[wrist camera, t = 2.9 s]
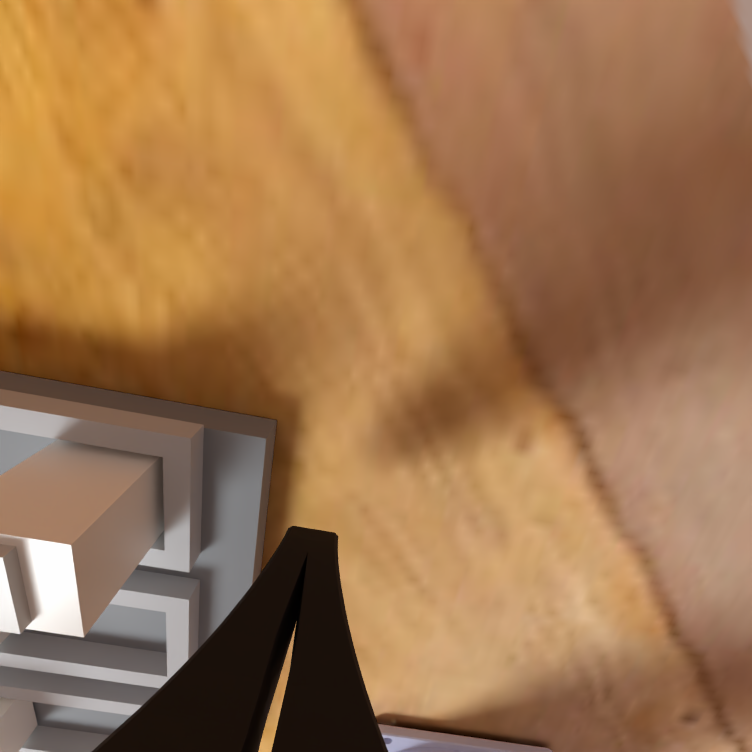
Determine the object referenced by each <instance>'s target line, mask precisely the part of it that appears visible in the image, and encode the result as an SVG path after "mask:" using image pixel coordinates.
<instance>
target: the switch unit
mask: <svg viewBox="0 0 752 752" xmlns="http://www.w3.org/2000/svg"><path fill="white" fill-rule="evenodd" d="M276 424H277V420H273V419H267V418H262V417H256V416H251V415H245V414H239V413H234V412H228V411H223V410H217V409H211V408H206V407H200V406H195V405H189V404H183V403H178V402H172V401H167V400H161V399H155V398H150V397H144V396H139V395H133V394H128V393H122V392H116V391H111V390H105V389H100V388H94V387H88V386H83V385H77V384H72V383H66V382H60V381H55V380H49V379H44V378H38V377H32V376H27V375H21V374H16V373H10V372H4V371H0V475H2V474H4V473H5V472H7V471H8V470H10V469H12V468H13V467H15V466H16V465H18V464H19V463H21V462H23V461H24V460H26V459H27V458H29V457H31V456H32V455H34V454H35V453H37V452H39V451H40V450H42V449H43V448H45V447H47V446H48V445H50V444H51V443H53V442H54V441H56V440H58V439H59V440H65V441H71V442H76V443H82V444H88V445H94V446H100V447H106V448H111V449H117V450H123V451H129V452H135V453H141V454H146V455H152V456H158V457H163V494H164V531H163V532H162V533H161V535H160V536H159V537H158V539H157V540H156V541H155V543H154V544H153V546H152V547H151V548H150V550H149V551H148V552H147V554H146V555H145V556H144V558H143V559H142V560H141V562H140V563H139V564H138V566H137V567H136V568H135V570H134V571H133V572H132V574H131V575H130V576H129V578H128V579H127V580H126V582H125V583H124V584H123V586H122V587H121V588H120V590H119V591H118V592H117V594H116V595H115V596H114V598H113V599H112V600H111V602H110V603H109V605H108V606H107V607H106V609H105V610H104V611H103V613H102V614H101V615H100V617H99V618H98V619H97V621H96V622H95V623H94V625H93V626H92V627H91V629H90V630H89V631H88V633H87V634H86V635H85V637H77V636H71V635H64V634H57V633H50V632H44V631H37V630H30V629H25V630H24V631H23V632H22V633H21V634H15V633H10V634H9V636H8V637H7V638H6V639H5V640H4V641H3V642H2V643H1V644H0V697H2V698H9V699H16V700H23V701H30V702H32V703H33V707H34V711H35V715H36V720H37V724H38V725H37V726H36V728H35V729H34V731H33V732H32V734H31V735H30V736H29V738H28V739H27V741H26V742H25V743H24V745H23V746H22V748H21V749H20V750H19V752H92V751H93V750H94V749H95V748H96V747H97V746H98V745H99V744H100V743H102V742H103V741H104V740H105V739H106V738H107V737H108V736H109V735H110V734H112V733H113V732H114V731H115V730H116V729H117V728H118V727H119V726H120V725H121V724H123V723H124V722H125V721H126V720H127V719H128V718H129V717H130V716H131V715H132V714H134V713H135V712H136V711H137V710H138V709H139V708H140V707H141V706H142V705H143V704H144V703H145V702H146V701H148V700H149V699H150V698H151V697H152V696H153V695H154V694H155V693H156V692H157V691H158V690H159V689H160V688H161V687H162V686H163V685H164V684H165V683H166V682H167V681H168V680H169V679H170V678H171V677H172V676H173V675H174V674H175V673H176V672H177V671H178V670H179V669H180V668H181V667H182V666H183V665H184V664H185V663H186V662H187V661H188V660H189V658H190V657H191V656H192V655H193V654H194V653H195V652H196V651H197V650H198V649H199V648H200V647H201V646H202V644H203V643H204V642H205V641H206V640H207V639H208V638H209V637H210V636H211V635H212V633H213V632H214V631H215V630H216V629H217V628H218V626H219V625H220V624H221V623H222V622H223V621H224V619H225V618H226V617H227V616H228V615H229V613H230V612H231V611H232V610H233V608H234V607H235V606H236V605H237V603H238V602H239V601H240V600H241V599H242V597H243V596H244V595H245V594H246V592H247V591H248V590H249V588H250V587H251V586H252V584H253V583H254V582H255V580H256V579H257V577H258V576H259V575H260V573H261V565H262V556H263V547H264V537H265V528H266V518H267V509H268V500H269V490H270V481H271V471H272V462H273V453H274V443H275V434H276Z"/></svg>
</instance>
